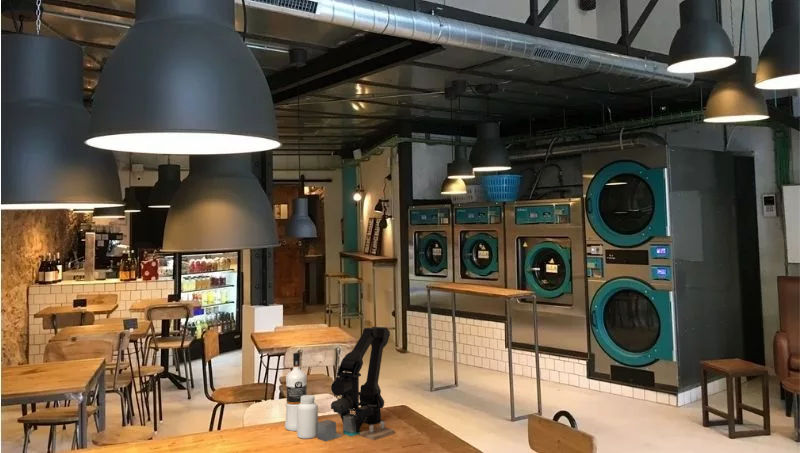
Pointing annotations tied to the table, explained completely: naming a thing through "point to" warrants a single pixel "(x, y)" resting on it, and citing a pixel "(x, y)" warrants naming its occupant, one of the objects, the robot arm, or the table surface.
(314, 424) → the pill bottle
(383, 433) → the pin board
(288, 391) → the vodka
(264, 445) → the table surface
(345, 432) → the sleeve
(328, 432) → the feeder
